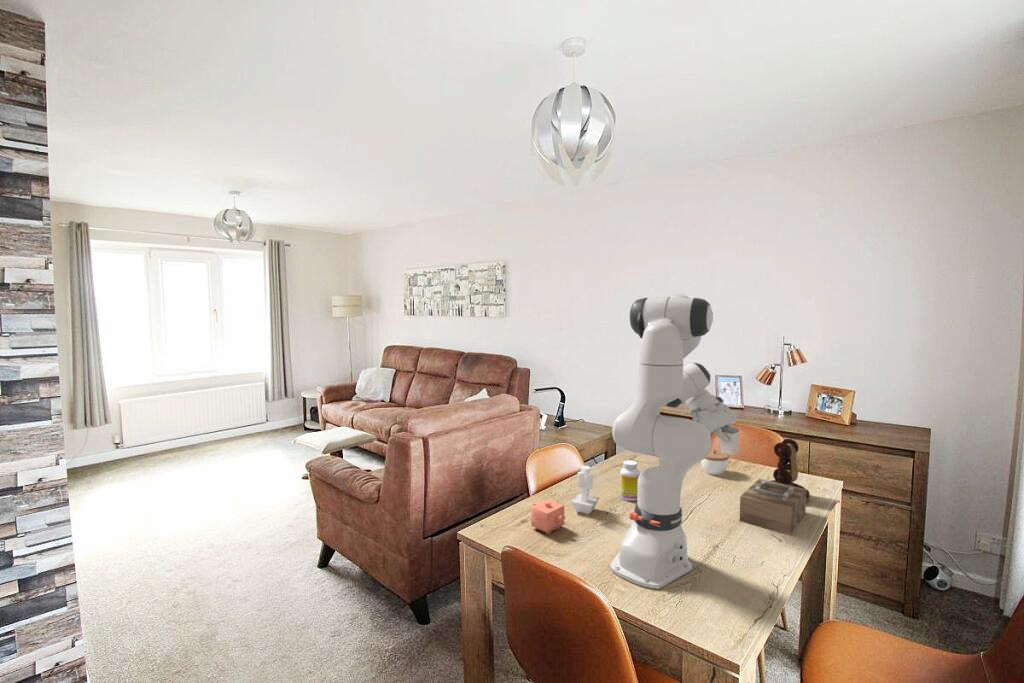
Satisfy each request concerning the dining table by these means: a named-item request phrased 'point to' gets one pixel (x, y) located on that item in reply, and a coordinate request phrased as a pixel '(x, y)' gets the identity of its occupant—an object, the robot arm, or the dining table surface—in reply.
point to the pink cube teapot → (547, 516)
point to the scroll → (787, 471)
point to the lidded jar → (715, 462)
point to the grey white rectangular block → (730, 441)
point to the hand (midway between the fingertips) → (731, 439)
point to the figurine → (585, 492)
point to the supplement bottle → (629, 481)
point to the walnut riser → (773, 506)
